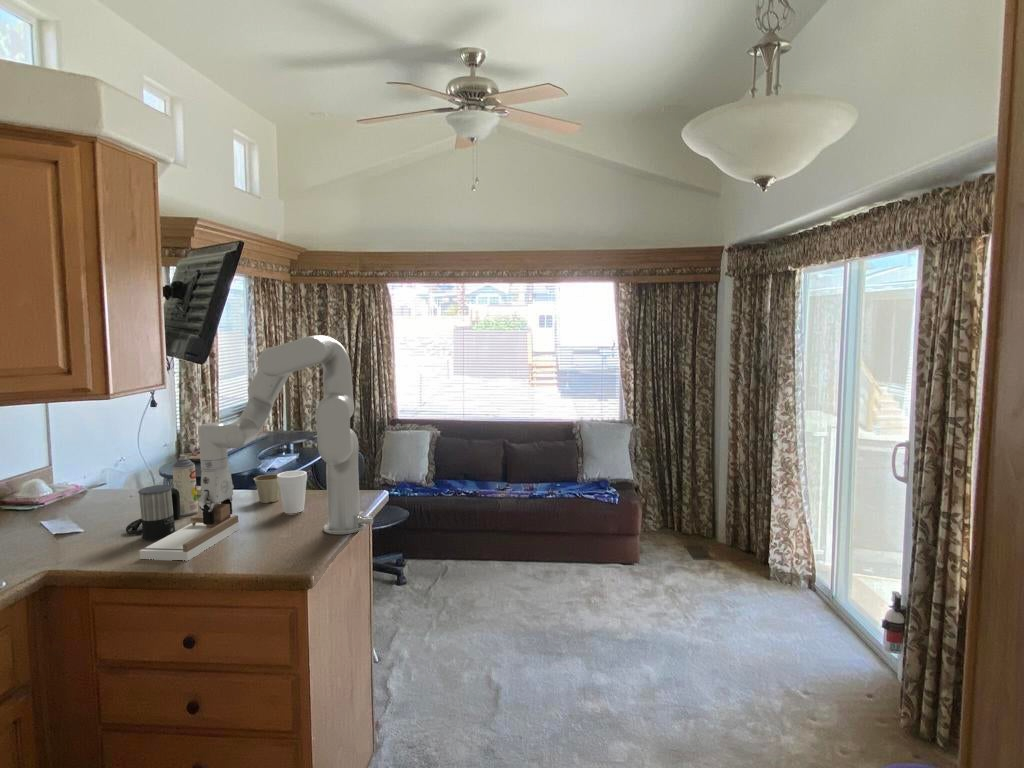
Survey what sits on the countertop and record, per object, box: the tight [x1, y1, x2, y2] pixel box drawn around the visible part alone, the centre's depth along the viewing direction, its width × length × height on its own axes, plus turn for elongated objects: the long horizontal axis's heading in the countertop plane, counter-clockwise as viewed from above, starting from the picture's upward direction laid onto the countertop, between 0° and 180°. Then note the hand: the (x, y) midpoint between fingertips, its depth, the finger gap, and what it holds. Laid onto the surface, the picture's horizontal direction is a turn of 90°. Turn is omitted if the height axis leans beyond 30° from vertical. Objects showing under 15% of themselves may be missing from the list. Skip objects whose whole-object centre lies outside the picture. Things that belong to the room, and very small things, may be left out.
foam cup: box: [277, 470, 308, 514], centre depth 220 cm, size 10×9×13 cm
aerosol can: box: [172, 454, 199, 517], centre depth 220 cm, size 7×7×20 cm
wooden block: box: [190, 503, 232, 528], centre depth 199 cm, size 11×5×6 cm, turn 83°
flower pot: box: [253, 473, 280, 504], centre depth 234 cm, size 9×9×9 cm
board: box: [139, 514, 240, 562], centre depth 190 cm, size 14×26×4 cm, turn 173°
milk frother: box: [125, 484, 181, 542], centre depth 199 cm, size 14×16×15 cm
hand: (218, 519), depth 199 cm, fingers open, 9 cm apart
